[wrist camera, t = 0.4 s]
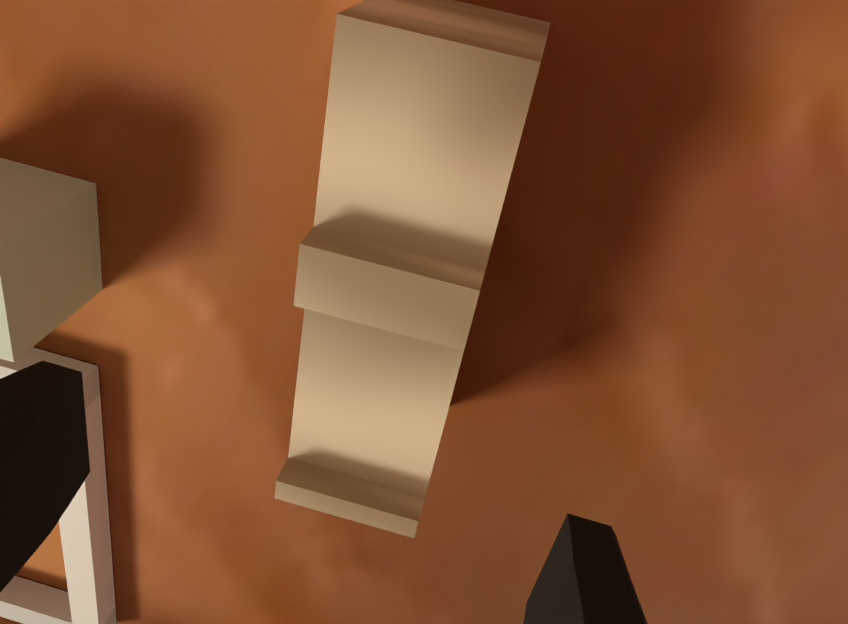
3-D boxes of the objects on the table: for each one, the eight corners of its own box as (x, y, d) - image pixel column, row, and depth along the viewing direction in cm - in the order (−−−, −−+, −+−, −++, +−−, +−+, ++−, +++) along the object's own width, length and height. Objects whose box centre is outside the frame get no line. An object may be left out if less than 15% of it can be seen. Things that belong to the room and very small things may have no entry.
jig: (116, 623, 30) (100, 647, 29) (-30, 577, 31) (-50, 600, 30) (98, 366, 23) (75, 387, 22) (-96, 310, 23) (-127, 329, 22)
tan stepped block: (449, 402, 21) (414, 537, 17) (339, 372, 21) (274, 498, 17) (551, 21, 15) (538, 72, 11) (396, -15, 15) (321, 20, 11)
